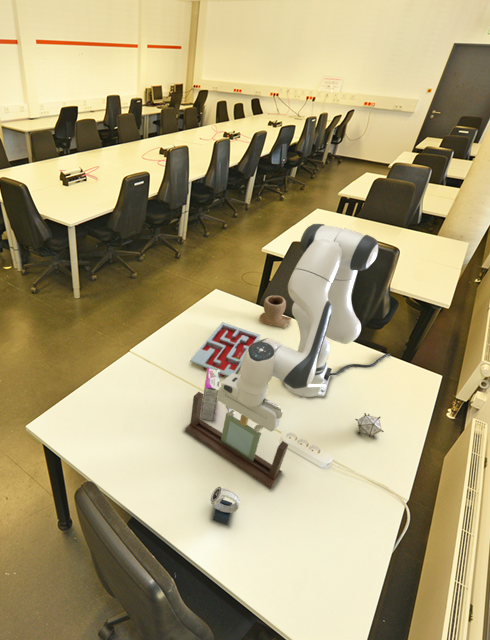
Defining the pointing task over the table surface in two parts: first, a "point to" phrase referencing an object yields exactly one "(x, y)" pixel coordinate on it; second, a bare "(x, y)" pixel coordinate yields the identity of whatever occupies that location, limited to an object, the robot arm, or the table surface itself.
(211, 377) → the candy bar box
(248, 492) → the table surface
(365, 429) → the game die
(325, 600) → the table surface
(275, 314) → the stone cup
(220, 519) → the watch
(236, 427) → the window pane
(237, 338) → the maze game
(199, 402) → the window frame
